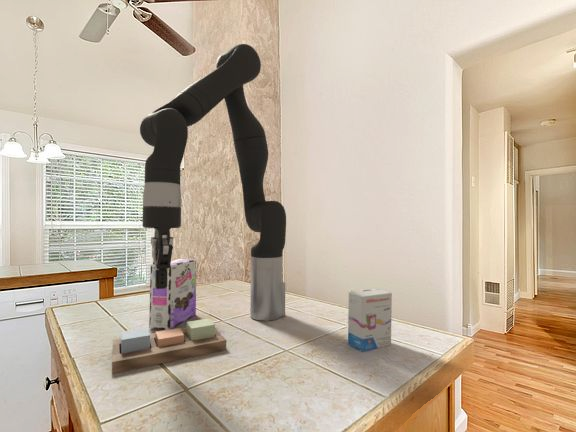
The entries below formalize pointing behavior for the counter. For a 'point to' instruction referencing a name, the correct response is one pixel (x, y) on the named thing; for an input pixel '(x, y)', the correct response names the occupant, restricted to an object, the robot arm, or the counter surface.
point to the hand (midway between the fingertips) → (161, 287)
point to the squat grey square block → (135, 340)
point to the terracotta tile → (169, 337)
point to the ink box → (369, 319)
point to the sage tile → (200, 329)
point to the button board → (164, 352)
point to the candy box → (173, 295)
